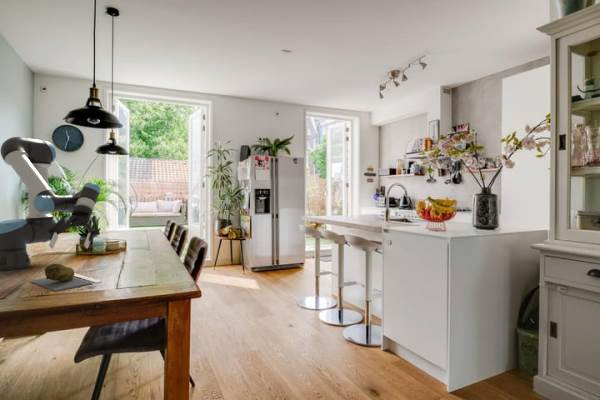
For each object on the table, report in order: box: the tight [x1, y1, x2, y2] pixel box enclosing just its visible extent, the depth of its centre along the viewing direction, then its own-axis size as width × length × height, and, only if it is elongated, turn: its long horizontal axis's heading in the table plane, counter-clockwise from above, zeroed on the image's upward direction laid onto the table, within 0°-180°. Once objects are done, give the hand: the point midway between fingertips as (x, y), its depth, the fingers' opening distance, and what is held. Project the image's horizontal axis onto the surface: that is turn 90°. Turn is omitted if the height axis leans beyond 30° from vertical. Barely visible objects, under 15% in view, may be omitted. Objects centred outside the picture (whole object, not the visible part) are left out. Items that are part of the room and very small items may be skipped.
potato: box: [44, 263, 75, 282], centre depth 143 cm, size 8×13×8 cm, turn 159°
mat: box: [29, 277, 93, 292], centre depth 143 cm, size 24×13×1 cm, turn 57°
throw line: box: [74, 272, 103, 284], centre depth 151 cm, size 24×2×1 cm, turn 57°
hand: (68, 246), depth 149 cm, fingers open, 13 cm apart
